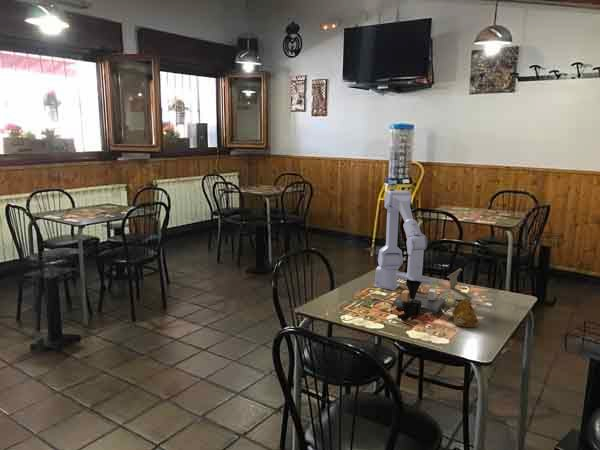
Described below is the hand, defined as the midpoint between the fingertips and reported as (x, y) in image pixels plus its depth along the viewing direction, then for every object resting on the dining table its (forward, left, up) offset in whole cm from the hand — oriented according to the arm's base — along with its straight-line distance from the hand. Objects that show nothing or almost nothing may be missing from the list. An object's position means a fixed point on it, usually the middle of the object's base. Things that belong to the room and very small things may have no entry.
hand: (412, 298), depth 190 cm
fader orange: (-3, 0, -1) cm, 3 cm away
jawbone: (+12, +23, -3) cm, 26 cm away
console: (+2, +4, -3) cm, 5 cm away
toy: (+2, -11, -3) cm, 12 cm away
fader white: (+6, +8, -1) cm, 10 cm away
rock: (+21, -6, -3) cm, 22 cm away
